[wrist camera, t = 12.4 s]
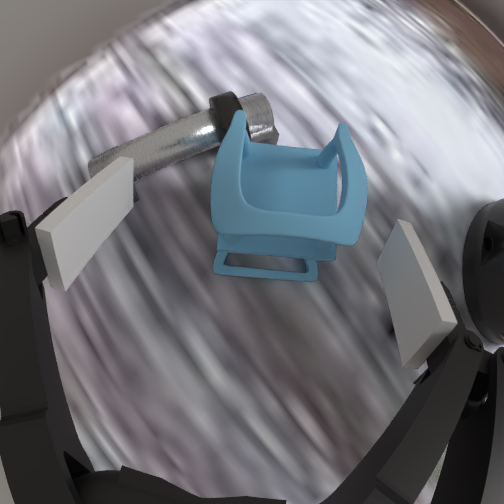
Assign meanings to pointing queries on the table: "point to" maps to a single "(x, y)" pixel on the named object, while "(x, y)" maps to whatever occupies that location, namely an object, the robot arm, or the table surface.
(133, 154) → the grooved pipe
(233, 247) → the chair
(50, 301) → the table surface
